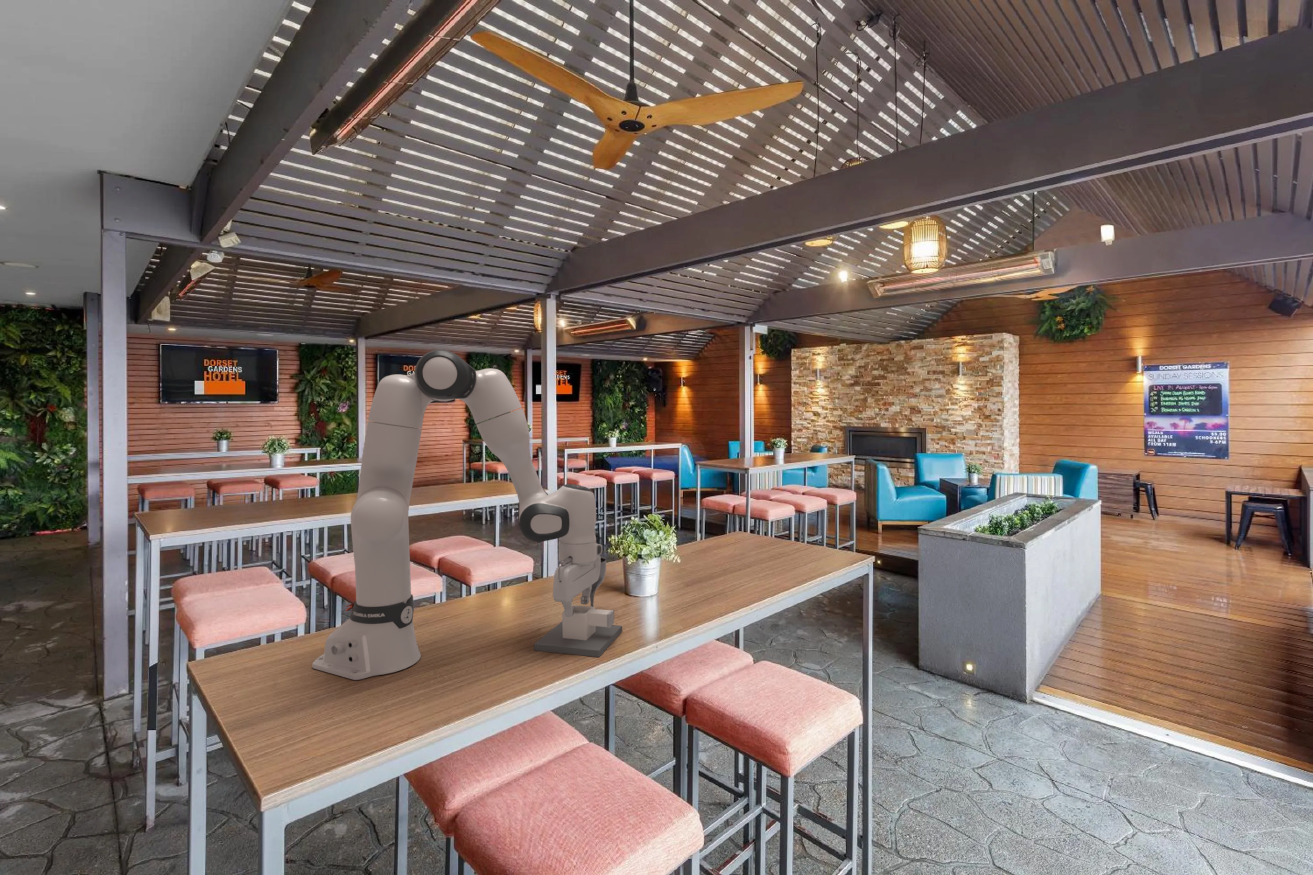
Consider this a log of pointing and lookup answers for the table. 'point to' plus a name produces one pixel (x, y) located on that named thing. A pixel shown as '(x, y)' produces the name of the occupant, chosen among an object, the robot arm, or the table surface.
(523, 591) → the table surface
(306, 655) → the table surface
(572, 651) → the base
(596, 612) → the elbow
